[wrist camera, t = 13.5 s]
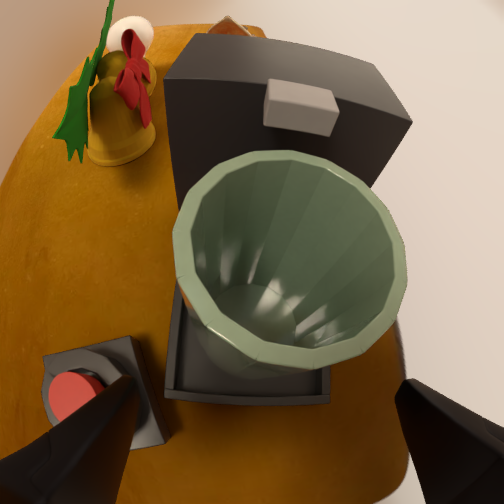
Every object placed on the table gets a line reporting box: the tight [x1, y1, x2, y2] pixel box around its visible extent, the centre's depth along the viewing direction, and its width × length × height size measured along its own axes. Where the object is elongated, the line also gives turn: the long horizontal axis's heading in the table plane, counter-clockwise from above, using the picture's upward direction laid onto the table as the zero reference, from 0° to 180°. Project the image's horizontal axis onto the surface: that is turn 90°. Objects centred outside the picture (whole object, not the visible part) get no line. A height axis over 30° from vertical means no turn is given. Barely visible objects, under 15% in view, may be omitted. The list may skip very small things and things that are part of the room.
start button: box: [49, 372, 105, 422], centre depth 11 cm, size 3×3×2 cm
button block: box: [41, 336, 171, 450], centre depth 13 cm, size 7×7×4 cm
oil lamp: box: [207, 16, 256, 37], centre depth 34 cm, size 9×21×10 cm, turn 176°
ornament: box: [52, 0, 157, 166], centre depth 20 cm, size 21×8×15 cm, turn 12°
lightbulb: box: [106, 16, 154, 58], centre depth 26 cm, size 6×6×11 cm
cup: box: [172, 150, 407, 380], centre depth 13 cm, size 7×7×12 cm
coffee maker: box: [163, 33, 413, 406], centre depth 14 cm, size 16×10×14 cm, turn 178°
